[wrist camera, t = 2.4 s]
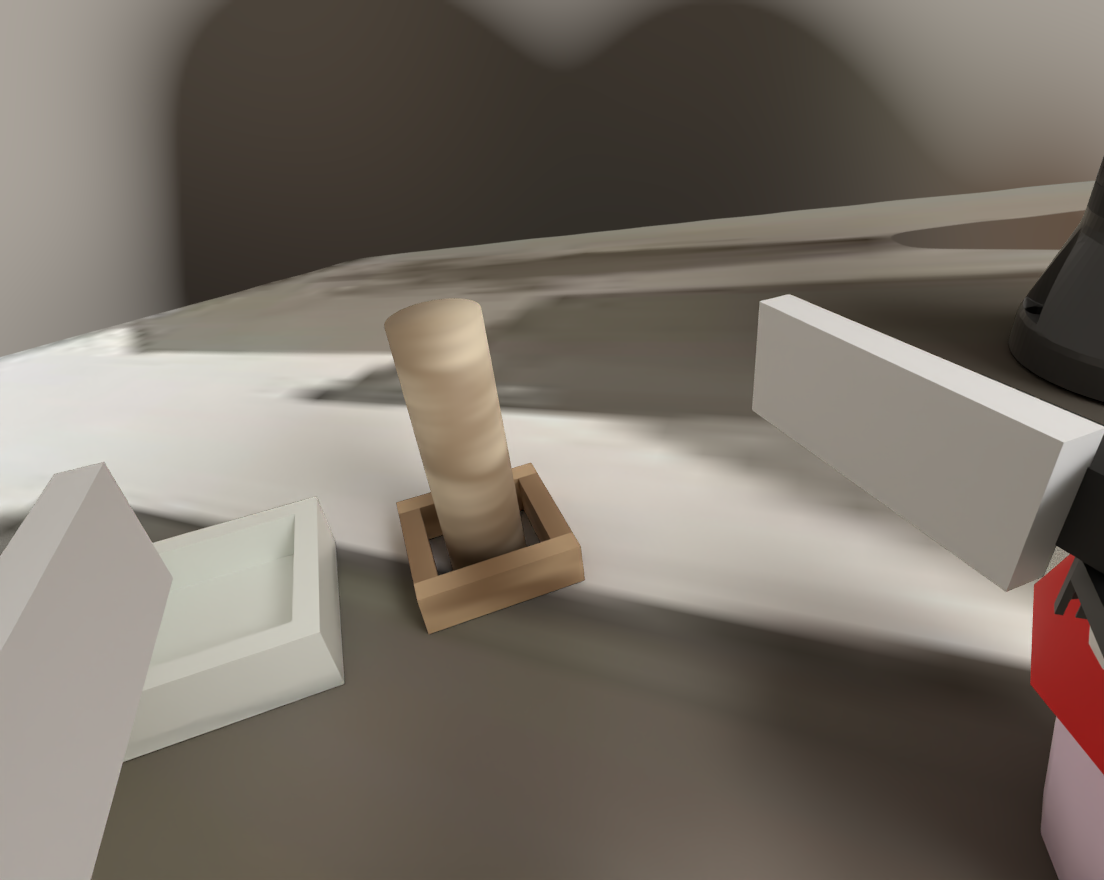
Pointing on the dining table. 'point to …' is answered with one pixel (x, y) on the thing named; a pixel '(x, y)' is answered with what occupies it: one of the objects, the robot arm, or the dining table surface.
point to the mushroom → (1070, 731)
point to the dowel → (458, 426)
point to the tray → (242, 624)
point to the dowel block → (496, 577)
